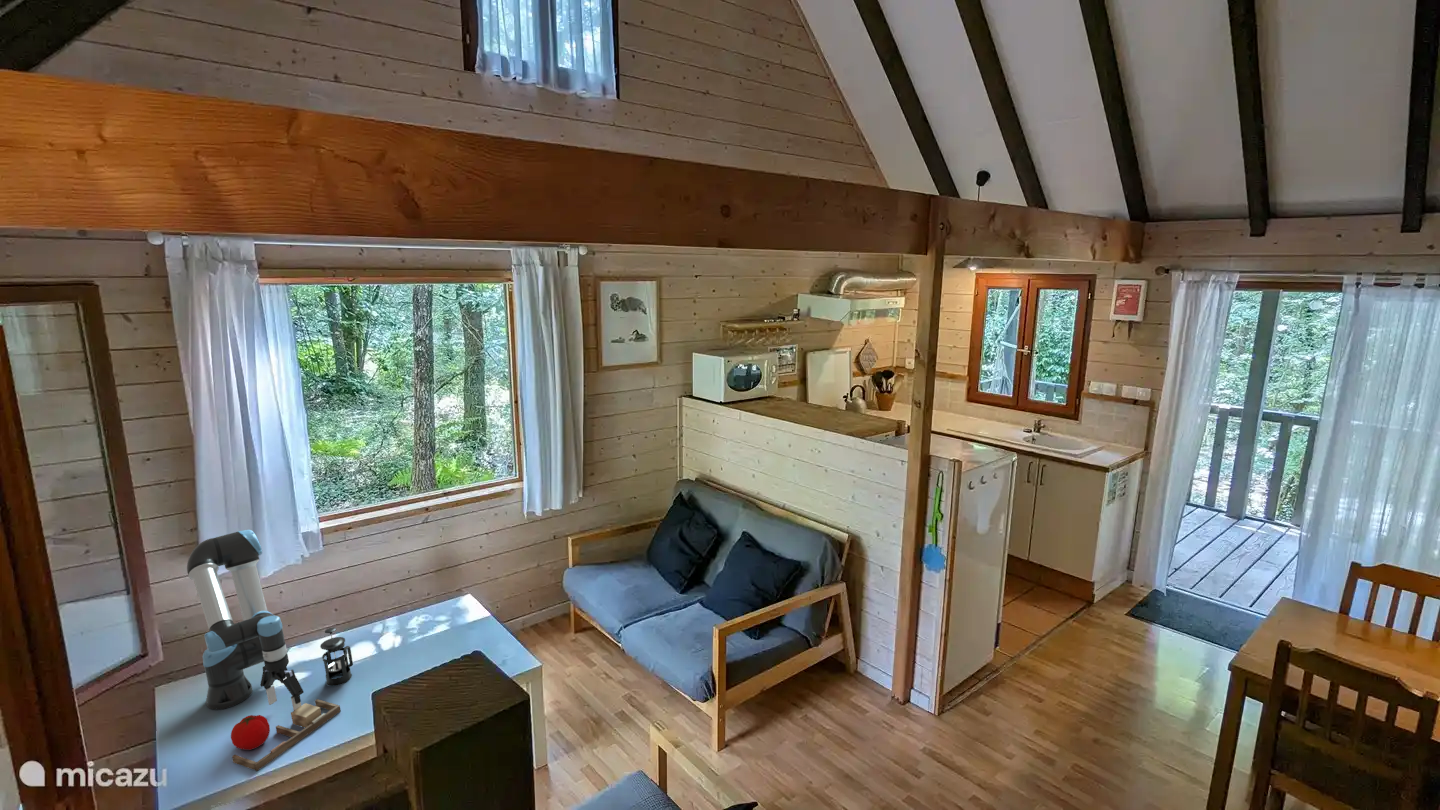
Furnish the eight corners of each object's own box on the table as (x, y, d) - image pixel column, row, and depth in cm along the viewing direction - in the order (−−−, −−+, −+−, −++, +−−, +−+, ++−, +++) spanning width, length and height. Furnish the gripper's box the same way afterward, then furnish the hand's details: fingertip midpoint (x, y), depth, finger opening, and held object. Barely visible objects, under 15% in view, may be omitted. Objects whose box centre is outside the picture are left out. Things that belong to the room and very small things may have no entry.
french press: (334, 689, 277) (325, 638, 272) (319, 684, 281) (310, 633, 276) (360, 673, 287) (352, 623, 282) (345, 668, 291) (337, 619, 286)
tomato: (276, 743, 246) (271, 716, 244) (239, 761, 238) (233, 733, 235) (265, 729, 254) (260, 703, 252) (229, 746, 245) (223, 719, 243)
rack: (233, 762, 237) (231, 754, 237) (318, 704, 267) (316, 697, 267) (257, 771, 233) (255, 763, 232) (340, 711, 263) (339, 704, 262)
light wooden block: (292, 724, 257) (290, 712, 256) (307, 714, 262) (305, 703, 261) (308, 729, 254) (305, 717, 253) (322, 719, 259) (320, 707, 258)
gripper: (243, 656, 258) (253, 705, 262) (289, 668, 249) (299, 719, 253) (262, 645, 264) (272, 693, 269) (308, 657, 255) (317, 707, 260)
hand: (285, 706), depth 261 cm, fingers open, 13 cm apart
